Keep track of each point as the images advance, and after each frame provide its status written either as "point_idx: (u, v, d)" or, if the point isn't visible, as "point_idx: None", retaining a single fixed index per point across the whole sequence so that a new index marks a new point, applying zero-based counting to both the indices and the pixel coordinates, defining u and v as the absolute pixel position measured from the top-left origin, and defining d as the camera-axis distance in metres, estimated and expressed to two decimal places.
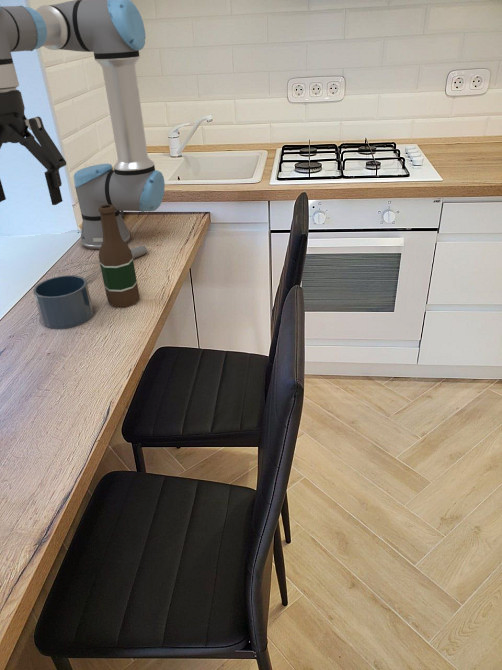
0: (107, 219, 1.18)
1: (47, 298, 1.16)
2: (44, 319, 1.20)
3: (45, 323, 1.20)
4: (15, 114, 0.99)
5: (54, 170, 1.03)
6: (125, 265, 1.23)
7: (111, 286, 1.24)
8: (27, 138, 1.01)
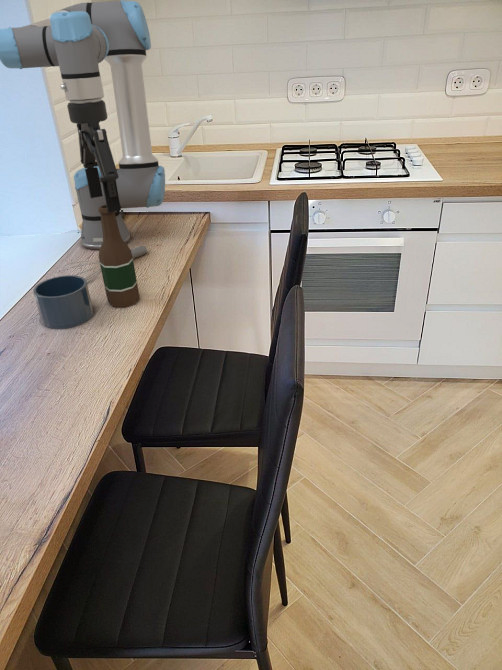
0: (107, 219, 1.18)
1: (47, 298, 1.16)
2: (44, 319, 1.20)
3: (45, 323, 1.20)
4: (88, 124, 1.06)
5: (107, 181, 1.07)
6: (125, 265, 1.23)
7: (111, 286, 1.24)
8: None
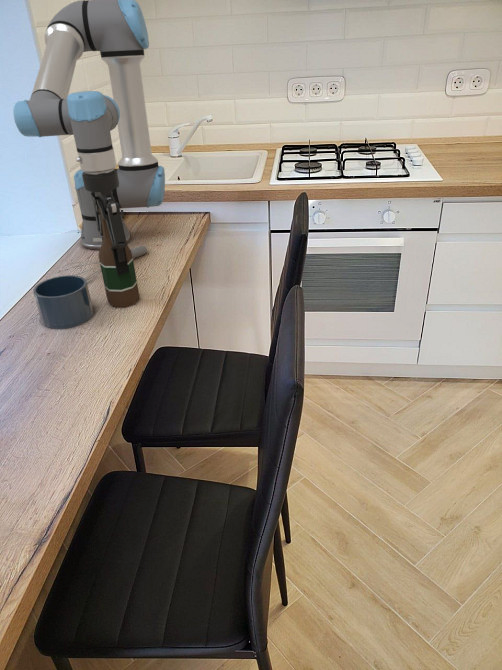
0: None
1: (47, 298, 1.16)
2: (44, 319, 1.20)
3: (45, 323, 1.20)
4: (102, 192, 1.13)
5: (117, 249, 1.18)
6: None
7: (111, 286, 1.24)
8: None
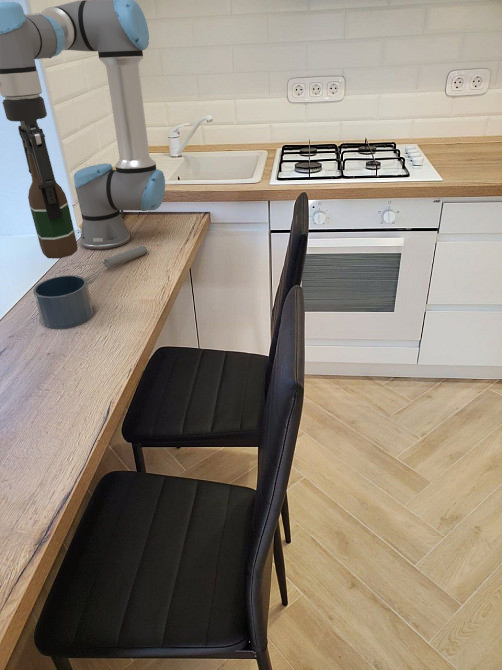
0: None
1: (47, 298, 1.16)
2: (44, 319, 1.20)
3: (45, 323, 1.20)
4: (25, 122, 1.00)
5: (45, 188, 1.05)
6: None
7: (43, 233, 1.11)
8: None
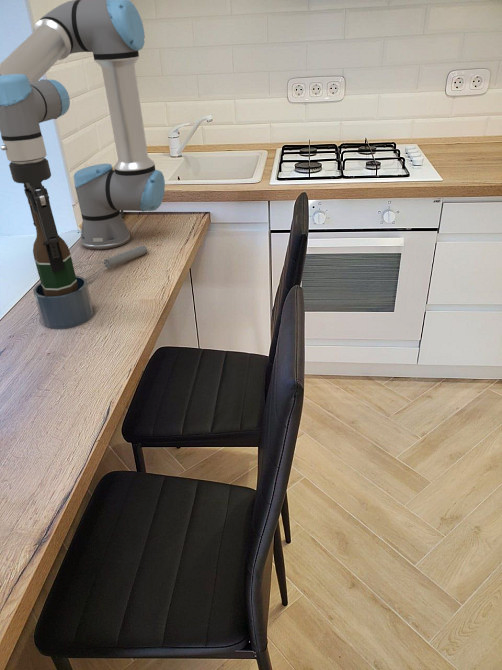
0: None
1: (47, 298, 1.16)
2: (44, 319, 1.20)
3: (45, 323, 1.20)
4: (30, 184, 1.06)
5: (49, 244, 1.10)
6: None
7: (47, 284, 1.17)
8: None
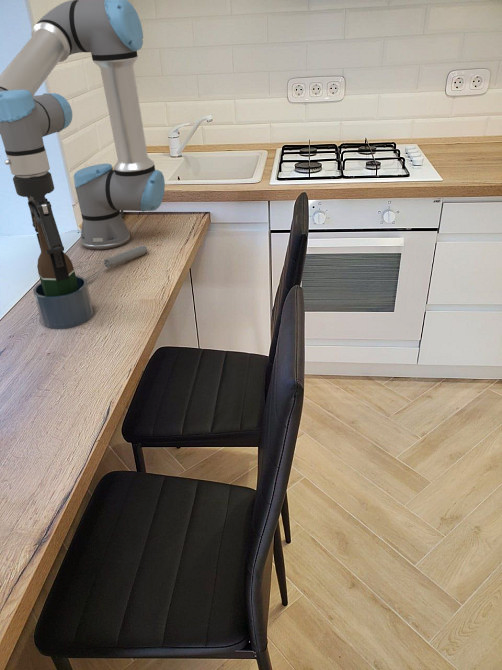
0: None
1: (47, 298, 1.16)
2: (44, 319, 1.20)
3: (45, 323, 1.20)
4: (34, 197, 1.07)
5: (53, 253, 1.08)
6: None
7: None
8: None
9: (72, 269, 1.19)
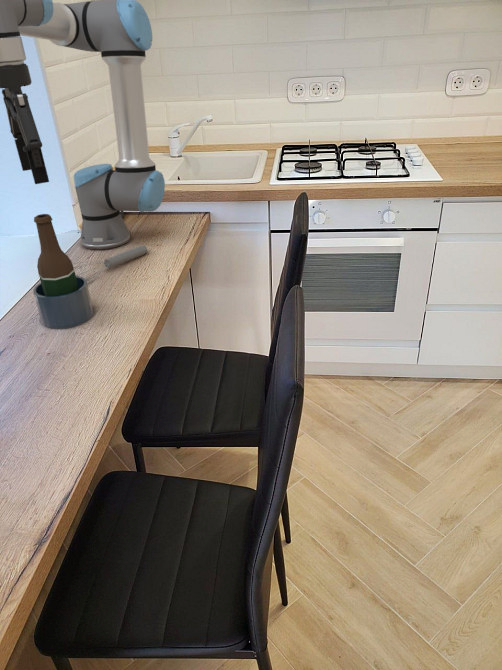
0: (43, 229, 1.12)
1: (47, 298, 1.16)
2: (44, 319, 1.20)
3: (45, 323, 1.20)
4: (9, 89, 1.00)
5: (31, 149, 1.01)
6: (65, 277, 1.17)
7: None
8: None
9: (72, 269, 1.19)
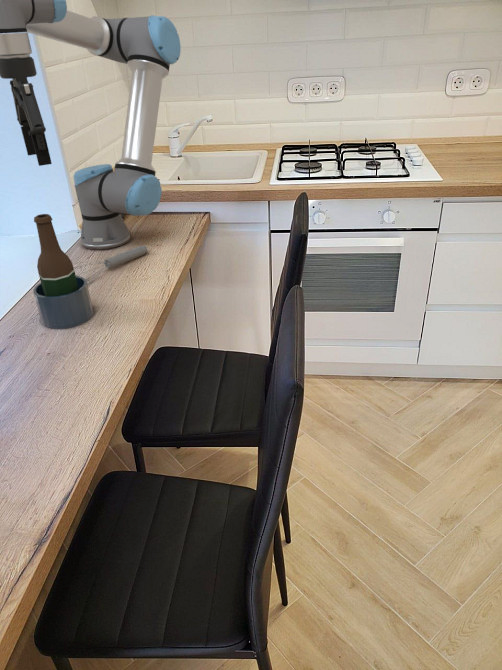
0: (43, 229, 1.12)
1: (47, 298, 1.16)
2: (44, 319, 1.20)
3: (45, 323, 1.20)
4: (16, 79, 1.11)
5: (35, 134, 1.13)
6: (65, 277, 1.17)
7: None
8: None
9: (72, 269, 1.19)
